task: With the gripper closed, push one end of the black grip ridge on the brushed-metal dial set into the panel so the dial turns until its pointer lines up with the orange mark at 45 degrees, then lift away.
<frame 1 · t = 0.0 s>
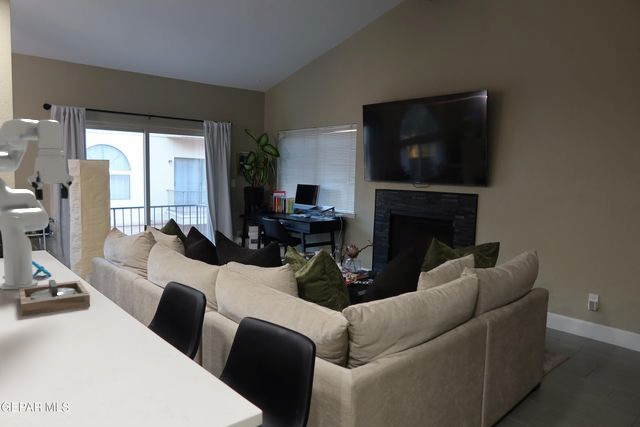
hand: (52, 199, 166), 37 cm above the counter, tool pointing down, fingers open, 9 cm apart
gear: (41, 277, 196), on the counter
dial panel: (53, 301, 159), on the counter
dial: (53, 290, 159), point 4 cm above the counter, hinge at 0.0°
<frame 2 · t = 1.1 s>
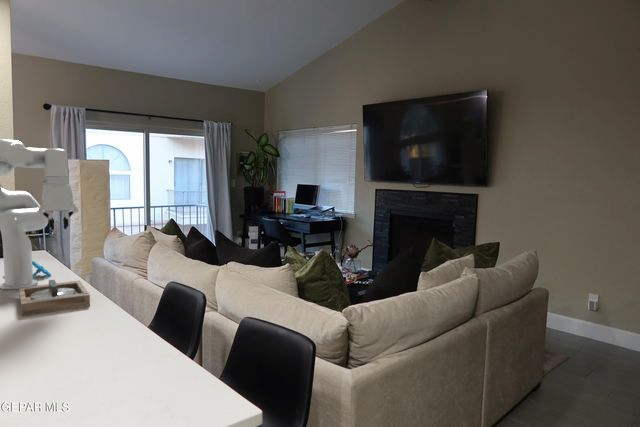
hand: (58, 228, 169), 25 cm above the counter, tool pointing down, fingers open, 3 cm apart
nothing on the counter moved.
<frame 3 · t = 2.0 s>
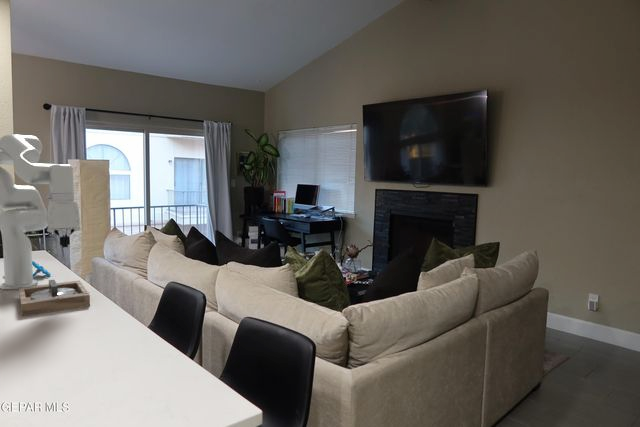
hand: (65, 246, 163), 19 cm above the counter, tool pointing down, fingers closed
nothing on the counter moved.
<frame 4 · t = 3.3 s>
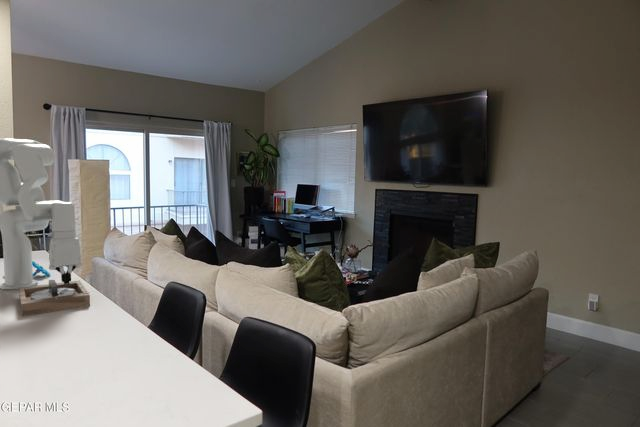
hand: (66, 283, 165), 5 cm above the counter, tool pointing down, fingers closed
nothing on the counter moved.
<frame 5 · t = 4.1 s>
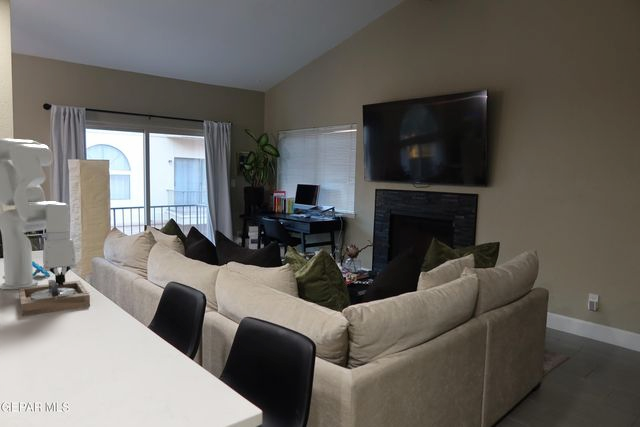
hand: (60, 284, 164), 5 cm above the counter, tool pointing down, fingers closed
dial: (53, 290, 159), point 4 cm above the counter, hinge at 0.9°, touching gripper
everything else where it was.
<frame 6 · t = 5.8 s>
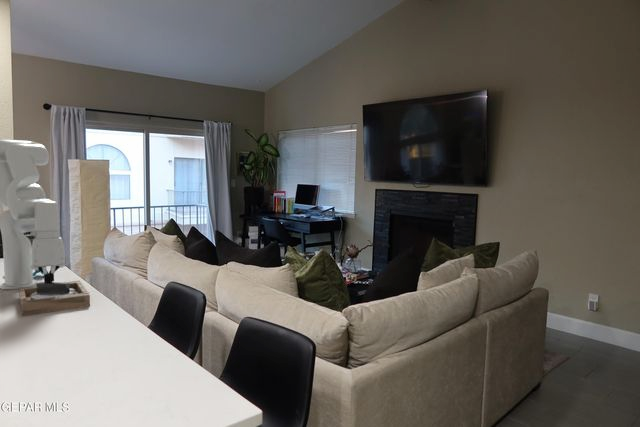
hand: (49, 283, 162), 6 cm above the counter, tool pointing down, fingers closed
dial: (53, 290, 159), point 4 cm above the counter, hinge at 51.3°
everything else where it was.
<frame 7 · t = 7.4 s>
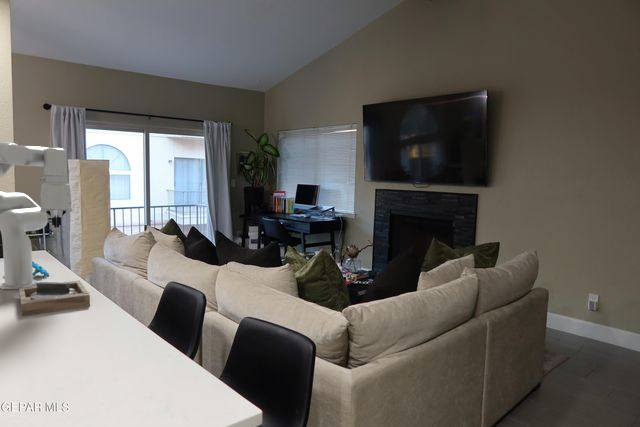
hand: (56, 227, 171), 26 cm above the counter, tool pointing down, fingers closed
nothing on the counter moved.
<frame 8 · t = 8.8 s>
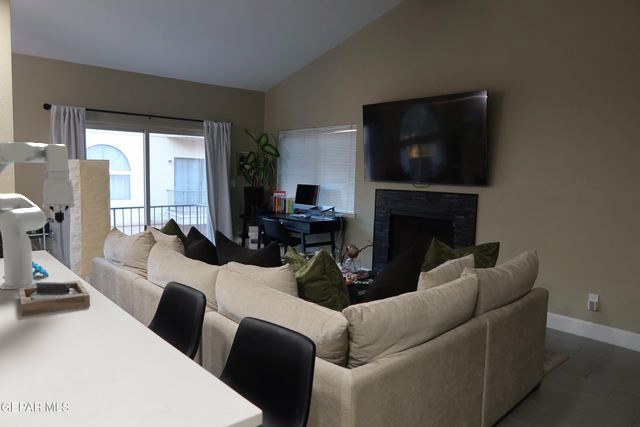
hand: (59, 222, 173), 27 cm above the counter, tool pointing down, fingers closed
nothing on the counter moved.
at the end: dial at +51° (first picture: +0°); gear moved 1.0 cm from its start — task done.
